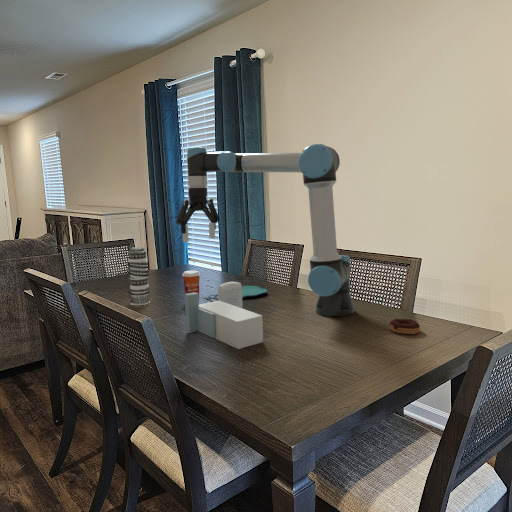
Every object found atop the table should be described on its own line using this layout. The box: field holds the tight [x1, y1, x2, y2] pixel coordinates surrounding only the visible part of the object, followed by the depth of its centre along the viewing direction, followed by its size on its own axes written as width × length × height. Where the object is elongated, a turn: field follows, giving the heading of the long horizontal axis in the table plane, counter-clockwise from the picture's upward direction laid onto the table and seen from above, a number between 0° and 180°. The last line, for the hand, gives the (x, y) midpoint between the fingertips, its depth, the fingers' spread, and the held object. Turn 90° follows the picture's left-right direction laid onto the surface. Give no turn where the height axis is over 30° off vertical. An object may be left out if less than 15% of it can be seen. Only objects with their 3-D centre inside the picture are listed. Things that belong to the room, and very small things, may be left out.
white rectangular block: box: [199, 300, 264, 350], centre depth 156 cm, size 26×10×9 cm, turn 37°
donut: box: [388, 318, 421, 335], centre depth 157 cm, size 10×10×4 cm
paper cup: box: [182, 270, 201, 300], centre depth 200 cm, size 8×8×14 cm
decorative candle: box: [126, 246, 151, 306], centre depth 200 cm, size 9×9×25 cm
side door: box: [184, 292, 216, 339], centre depth 156 cm, size 12×4×13 cm, turn 37°
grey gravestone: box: [217, 281, 243, 309], centre depth 185 cm, size 10×4×12 cm, turn 123°
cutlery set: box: [201, 285, 268, 302], centre depth 212 cm, size 20×30×2 cm, turn 121°
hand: (199, 240), depth 185 cm, fingers open, 13 cm apart
